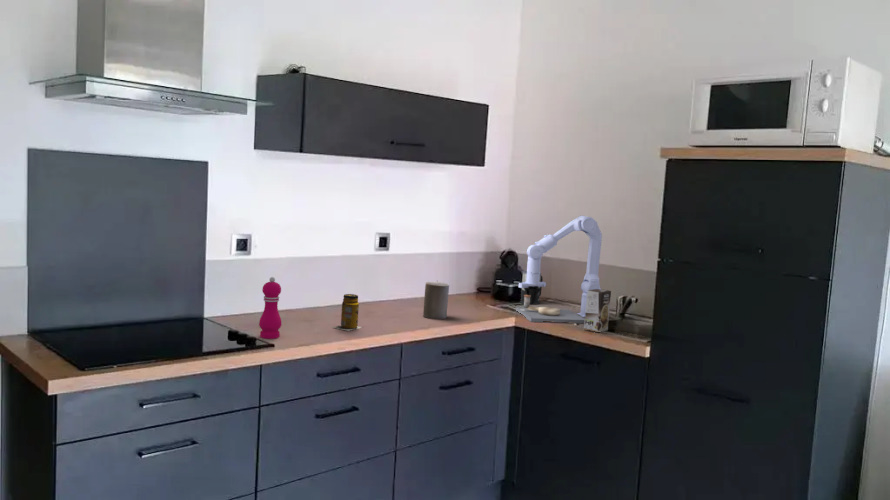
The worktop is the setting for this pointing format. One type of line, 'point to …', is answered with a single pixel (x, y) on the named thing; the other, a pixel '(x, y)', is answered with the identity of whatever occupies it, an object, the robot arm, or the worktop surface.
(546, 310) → the cam dial
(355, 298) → the condiment
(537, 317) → the stand board
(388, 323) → the worktop surface
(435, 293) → the pillar candle
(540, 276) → the milk frother
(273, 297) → the pepper mill
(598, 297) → the coffee box
